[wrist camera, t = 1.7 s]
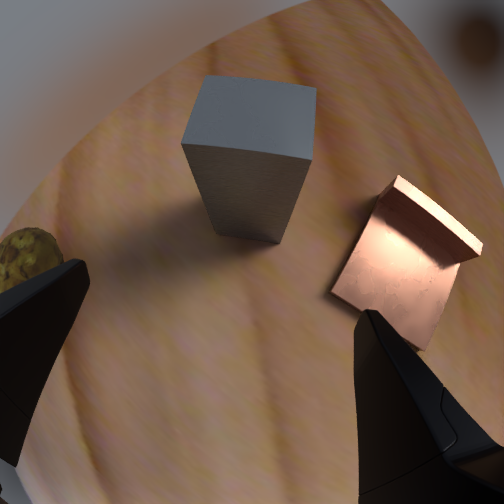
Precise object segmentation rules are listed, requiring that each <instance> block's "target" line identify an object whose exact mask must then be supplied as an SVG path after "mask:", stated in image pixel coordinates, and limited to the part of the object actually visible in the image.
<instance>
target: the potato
mask: <svg viewBox="0 0 504 504" xmlns="http://www.w3.org/2000/svg"><path fill="white" fill-rule="evenodd" d="M62 263H64V260H63V254H62V253H61V252H60V249H59V247H58V245H57V243H56V239H55V238H54V237H53V236H52V235H51V234H50V233H48V232H46V231H44V230H42V229H39V228H38V227H37V228H29V227H28V228H24V229H20V230H18V231H15V232H13V233H11V234H10V235H8V236H7V237H6V238H5V239H4V240H3V241H2V243H1V244H0V293H2V292H4V291H6V290H8V289H10V288H12V287H14V286H16V285H18V284H20V283H22V282H24V281H26V280H28V279H30V278H32V277H34V276H37V275H39V274H41V273H43V272H45V271H47V270H49V269H52V268H54V267H56V266H58V265H60V264H62Z"/></svg>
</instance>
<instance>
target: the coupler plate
mask: <svg viewBox="0 0 504 504" xmlns="http://www.w3.org/2000/svg"><path fill="white" fill-rule="evenodd" d="M482 246H483V244H482V243H481V242H480V241H479V240H478V239H477V238H476V237H475V236H473V235H472V234H471V233H470V232H469V231H468V230H467V229H466V228H465V227H463V226H462V225H461V224H460V223H459V222H458V221H457V220H455V219H454V218H453V217H452V216H451V215H450V214H448V213H447V212H446V211H445V210H444V209H442V208H441V207H440V206H439V205H437V204H436V203H435V202H434V201H432V200H431V199H430V198H429V197H427V196H426V195H425V194H423V193H422V192H421V191H419V190H418V189H417V188H415V187H414V186H413V185H411V184H410V183H409V182H407V181H406V180H404V179H403V178H402V177H400V176H399V175H398V176H397V177H396V178H395V179H394V180H393V181H392V182H391V183H390V184H389V185H388V186H387V187H386V188H385V189H384V190H383V191H382V192H381V193H380V195H379V197H378V199H377V201H376V203H375V205H374V207H373V209H372V211H371V214H370V216H369V218H368V220H367V222H366V224H365V226H364V228H363V230H362V232H361V234H360V236H359V237H358V239H357V241H356V243H355V245H354V247H353V249H352V251H351V253H350V255H349V257H348V258H347V260H346V262H345V264H344V266H343V268H342V269H341V271H340V273H339V275H338V277H337V278H336V280H335V282H334V284H333V285H332V287H331V289H330V291H329V293H331V294H332V295H334V296H335V297H337V298H338V299H340V300H342V301H343V302H345V303H346V304H348V305H349V306H351V307H353V308H354V309H356V310H357V311H359V312H360V313H362V312H363V311H364V310H365V309H374V310H378V311H379V312H380V313H381V314H382V316H383V317H384V318H385V319H386V320H387V321H388V322H389V323H390V324H391V325H392V326H393V328H394V329H395V330H396V331H397V332H398V333H399V334H400V335H401V336H402V338H403V339H404V340H405V341H406V342H407V343H409V344H410V345H412V346H414V347H415V348H417V349H418V350H420V351H425V350H426V348H427V346H428V344H429V341H430V339H431V337H432V335H433V333H434V330H435V328H436V326H437V324H438V321H439V319H440V316H441V314H442V312H443V309H444V307H445V304H446V301H447V299H448V296H449V293H450V291H451V288H452V285H453V282H454V279H455V276H456V273H457V270H458V267H459V264H460V263H461V262H464V261H467V260H470V259H473V258H476V257H478V256H480V254H481V250H482Z"/></svg>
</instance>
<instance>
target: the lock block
mask: <svg viewBox="0 0 504 504" xmlns="http://www.w3.org/2000/svg"><path fill="white" fill-rule="evenodd" d="M315 108H316V88H313V87H308V86H302V85H296V84H290V83H284V82H277V81H269V80H261V79H252V78H241V77H228V76H209V75H206V76H205V79H204V81H203V84H202V86H201V89H200V91H199V94H198V97H197V99H196V102H195V105H194V107H193V110H192V113H191V115H190V118H189V121H188V124H187V127H186V130H185V132H184V135H183V138H182V141H181V145H182V148H183V150H184V153H185V156H186V158H187V161H188V163H189V166H190V169H191V171H192V174H193V176H194V179H195V182H196V184H197V187H198V189H199V192H200V194H201V197H202V199H203V202H204V205H205V207H206V210H207V212H208V215H209V217H210V220H211V222H212V225H213V227H214V230H215V232H216V234H220V235H227V236H233V237H240V238H246V239H252V240H259V241H265V242H271V243H278V244H280V242H281V240H282V237H283V235H284V232H285V230H286V227H287V224H288V222H289V219H290V217H291V214H292V212H293V209H294V206H295V204H296V201H297V199H298V196H299V193H300V191H301V188H302V185H303V183H304V180H305V178H306V175H307V172H308V170H309V167H310V164H311V162H312V154H313V141H314V125H315Z"/></svg>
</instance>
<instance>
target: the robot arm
mask: <svg viewBox="0 0 504 504" xmlns="http://www.w3.org/2000/svg"><path fill="white" fill-rule="evenodd" d="M89 285H90V278H89V274H88V270H87V266H86V263H85V261H83V260H80V259H71V260H69V261H67V262H65V263H62V264H60V265H58V266H56V267H54V268H52V269H49V270H47V271H45V272H43V273H41V274H39V275H37V276H34V277H32V278H30V279H28V280H26V281H24V282H22V283H20V284H18V285H16V286H14V287H12V288H10V289H8V290H6V291H4V292H2V293H0V458H1V459H3V460H4V461H6V462H7V463H9V464H11V465H12V466H14V467H16V466H17V464H18V461H19V457H20V454H21V450H22V447H23V444H24V440H25V437H26V434H27V431H28V428H29V425H30V422H31V419H32V416H33V413H34V411H35V408H36V405H37V403H38V400H39V398H40V395H41V393H42V390H43V388H44V385H45V383H46V381H47V378H48V376H49V374H50V371H51V369H52V367H53V365H54V363H55V360H56V358H57V356H58V354H59V352H60V350H61V348H62V346H63V344H64V341H65V339H66V337H67V335H68V333H69V331H70V330H71V328H72V325H73V323H74V321H75V319H76V317H77V314H78V312H79V309H80V307H81V305H82V302H83V300H84V297H85V295H86V293H87V291H88V288H89ZM354 387H355V399H356V413H357V430H358V456H359V497H358V504H504V447H502V446H501V445H499V444H497V443H496V442H495V441H494V440H493V439H491V437H490V436H489V435H488V434H487V433H486V432H485V431H484V430H483V429H482V428H481V427H480V426H479V425H478V424H477V422H476V421H475V420H474V419H473V418H472V417H471V416H470V415H469V414H468V413H467V412H466V411H465V410H464V409H463V407H462V406H461V405H460V404H459V403H458V402H457V400H456V399H455V398H454V397H453V396H452V395H451V393H450V392H449V391H448V390H447V389H446V387H443V384H442V383H441V381H440V380H439V379H438V378H437V377H436V375H435V374H434V373H433V372H432V371H431V370H430V368H429V367H428V366H427V365H426V364H425V363H424V361H423V360H422V359H421V358H420V357H419V356H418V355H417V353H416V352H415V351H414V350H413V349H412V348H411V347H410V345H409V344H408V343H407V342H406V341H405V340H404V339H403V338H402V336H401V335H400V334H399V333H398V332H397V331H396V330H395V329H394V328H393V326H392V325H391V324H390V323H389V322H388V321H387V320H386V319H385V318H384V317H383V316H382V314H381V313H380V312H379V311H378V310H374V309H365V310H364V311H363V312H362V314H361V316H360V318H359V320H358V322H357V324H356V326H355V329H354ZM1 491H2V487H1V484H0V494H1ZM0 504H8V503H7V502H6V501H5V500H3V499H2V498H1V497H0Z"/></svg>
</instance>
